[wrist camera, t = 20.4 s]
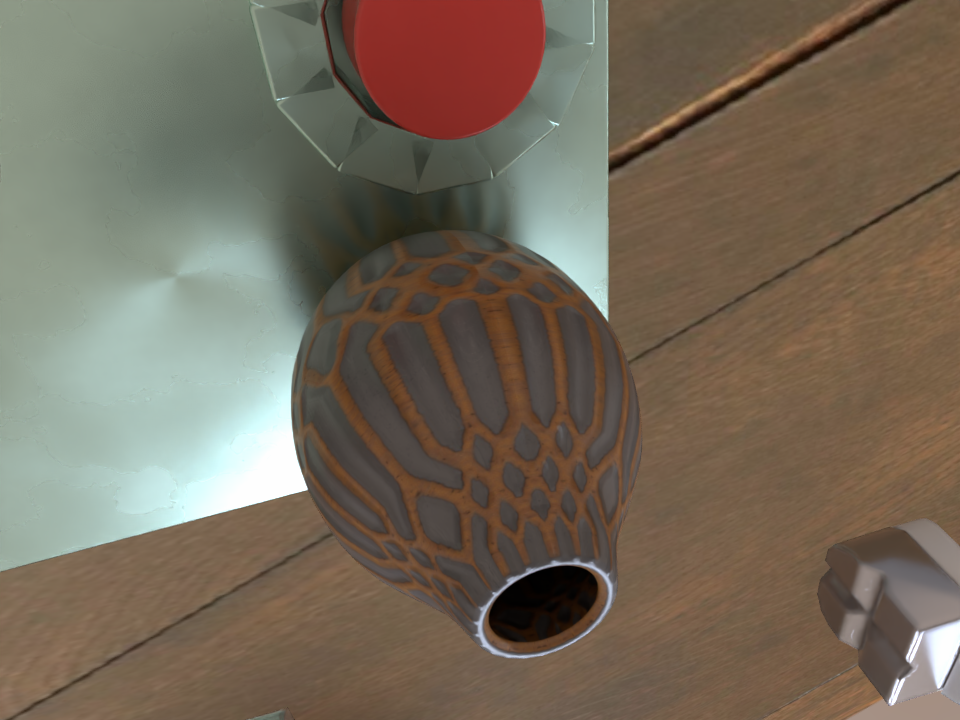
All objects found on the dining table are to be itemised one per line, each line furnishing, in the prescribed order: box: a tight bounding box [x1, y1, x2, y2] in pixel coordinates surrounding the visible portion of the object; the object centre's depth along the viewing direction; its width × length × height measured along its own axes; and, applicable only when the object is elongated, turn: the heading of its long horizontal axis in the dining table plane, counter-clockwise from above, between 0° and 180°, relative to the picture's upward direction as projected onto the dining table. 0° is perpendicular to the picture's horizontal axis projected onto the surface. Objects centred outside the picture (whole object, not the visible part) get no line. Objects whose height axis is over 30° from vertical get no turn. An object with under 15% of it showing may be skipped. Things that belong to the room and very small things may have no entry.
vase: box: [291, 230, 642, 658], centre depth 15 cm, size 7×7×9 cm
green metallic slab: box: [0, 0, 609, 572], centre depth 16 cm, size 20×14×3 cm
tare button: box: [342, 0, 546, 140], centre depth 13 cm, size 3×3×2 cm
